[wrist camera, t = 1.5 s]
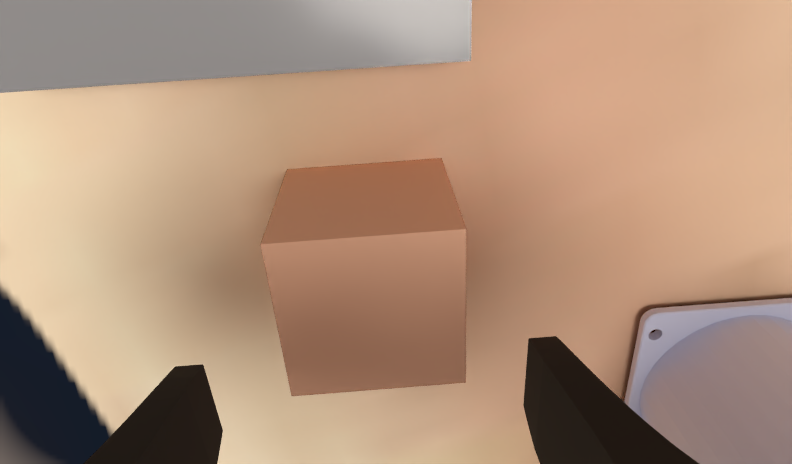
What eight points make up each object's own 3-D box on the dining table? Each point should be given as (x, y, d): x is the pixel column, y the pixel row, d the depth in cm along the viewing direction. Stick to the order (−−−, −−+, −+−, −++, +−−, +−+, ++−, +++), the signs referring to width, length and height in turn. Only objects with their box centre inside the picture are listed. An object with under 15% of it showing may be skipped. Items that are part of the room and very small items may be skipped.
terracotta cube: (443, 285, 20) (465, 382, 15) (308, 295, 20) (291, 396, 15) (441, 157, 17) (466, 228, 13) (287, 168, 17) (260, 244, 13)
